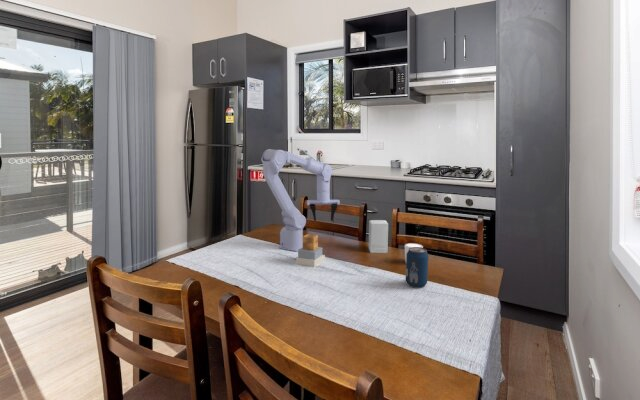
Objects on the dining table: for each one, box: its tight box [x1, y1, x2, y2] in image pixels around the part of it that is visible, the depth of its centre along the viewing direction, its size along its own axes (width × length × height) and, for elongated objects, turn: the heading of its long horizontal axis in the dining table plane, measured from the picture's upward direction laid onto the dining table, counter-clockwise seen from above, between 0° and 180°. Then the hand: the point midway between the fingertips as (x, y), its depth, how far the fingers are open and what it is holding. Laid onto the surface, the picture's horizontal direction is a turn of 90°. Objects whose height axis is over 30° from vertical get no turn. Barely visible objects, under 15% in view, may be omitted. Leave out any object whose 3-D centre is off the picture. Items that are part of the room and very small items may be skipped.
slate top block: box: [297, 246, 323, 260], centre depth 151 cm, size 7×7×3 cm
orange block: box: [303, 233, 319, 251], centre depth 150 cm, size 4×4×5 cm
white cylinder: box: [404, 242, 424, 264], centre depth 151 cm, size 7×7×7 cm
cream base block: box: [295, 254, 326, 268], centre depth 151 cm, size 8×8×3 cm
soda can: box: [405, 247, 429, 289], centre depth 128 cm, size 7×7×12 cm
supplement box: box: [367, 219, 389, 254], centre depth 166 cm, size 7×7×13 cm
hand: (323, 220), depth 177 cm, fingers open, 7 cm apart
